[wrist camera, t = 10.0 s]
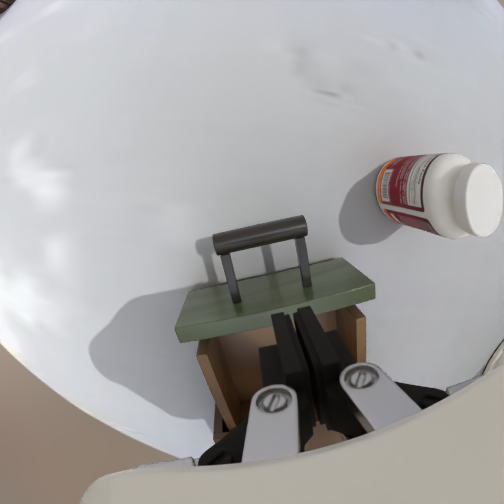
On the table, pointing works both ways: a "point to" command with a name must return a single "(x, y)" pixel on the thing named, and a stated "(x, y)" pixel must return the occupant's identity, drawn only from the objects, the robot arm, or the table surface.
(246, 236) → the drawer
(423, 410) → the robot arm
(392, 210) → the pill bottle
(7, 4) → the cupcake
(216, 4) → the table surface
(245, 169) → the table surface
